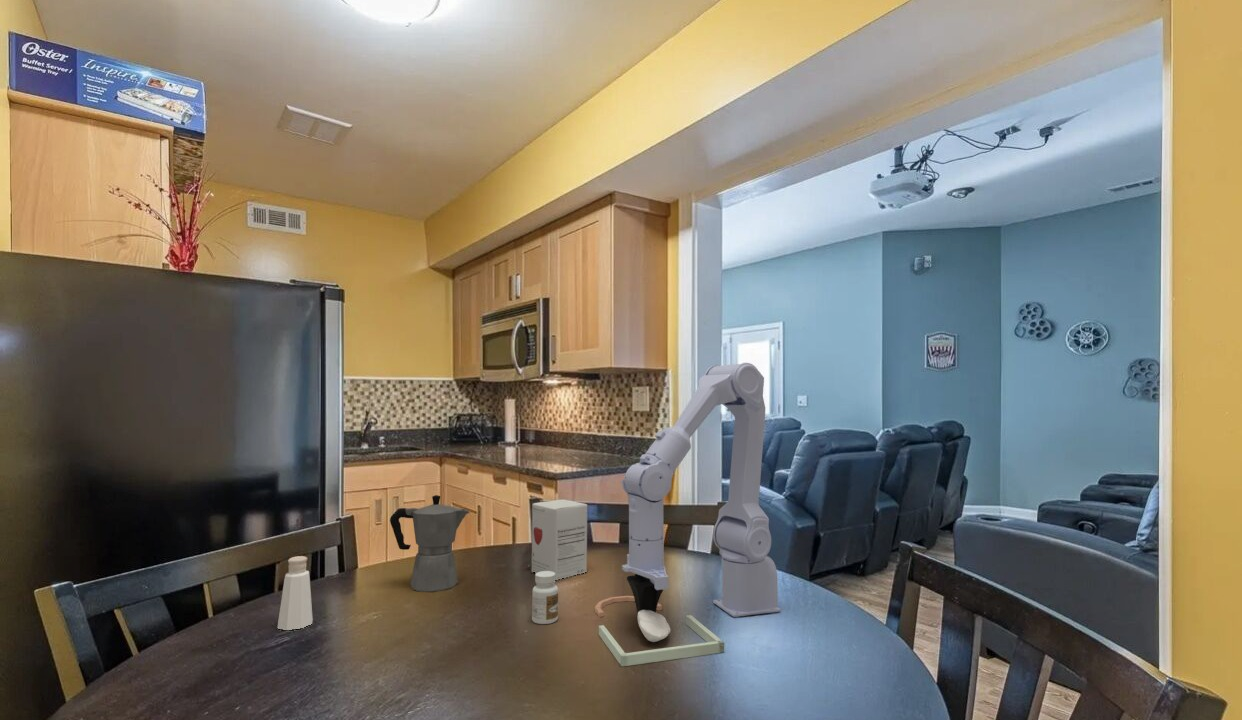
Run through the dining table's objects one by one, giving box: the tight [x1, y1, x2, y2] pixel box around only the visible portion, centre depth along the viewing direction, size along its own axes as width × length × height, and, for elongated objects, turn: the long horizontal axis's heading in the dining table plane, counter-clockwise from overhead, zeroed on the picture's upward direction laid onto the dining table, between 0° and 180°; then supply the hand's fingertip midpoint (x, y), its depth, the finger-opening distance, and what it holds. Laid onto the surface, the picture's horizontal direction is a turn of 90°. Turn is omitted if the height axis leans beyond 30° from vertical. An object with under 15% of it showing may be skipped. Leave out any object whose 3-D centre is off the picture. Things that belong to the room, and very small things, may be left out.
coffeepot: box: [389, 495, 470, 593], centre depth 120 cm, size 15×9×18 cm, turn 102°
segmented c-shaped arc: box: [594, 595, 663, 618], centre depth 108 cm, size 12×7×1 cm, turn 108°
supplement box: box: [531, 498, 588, 581], centre depth 130 cm, size 9×9×15 cm
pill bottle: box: [531, 571, 559, 625], centre depth 101 cm, size 4×4×8 cm
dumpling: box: [637, 610, 671, 643], centre depth 93 cm, size 7×5×4 cm
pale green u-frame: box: [598, 614, 725, 667], centre depth 91 cm, size 16×12×1 cm
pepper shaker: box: [276, 555, 313, 630], centre depth 99 cm, size 5×5×11 cm
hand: (646, 622), depth 97 cm, fingers closed
